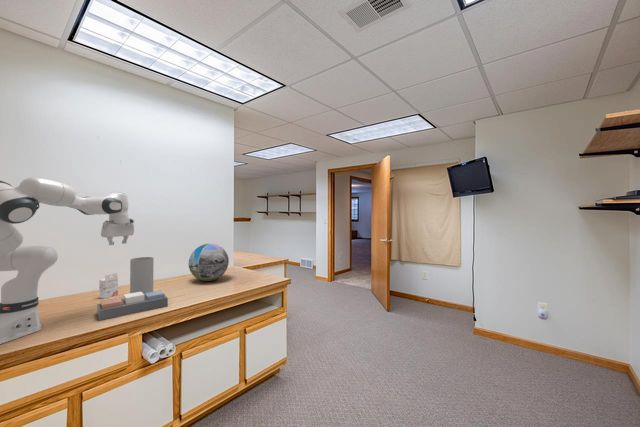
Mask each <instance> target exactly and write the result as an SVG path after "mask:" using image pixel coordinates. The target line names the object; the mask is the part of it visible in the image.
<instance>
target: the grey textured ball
mask: <svg viewBox="0 0 640 427" xmlns="http://www.w3.org/2000/svg"><path fill="white" fill-rule="evenodd" d="M229 260H230V259H229V255H228V252H227V251H226V250H225V249H224V248H223V247H222V246H220V245H218V244H215V243H205V244H202V245H200V246H198V247H196V248H195V249H194V250H193V251H192V252H191V254H190V256H189V259H188V268H189V271H190V273H191V275H192V276H193V277H194V278H196V279H197V280H200V281H202V282H203V281H204V282H211V281H216V280H217V279H219V278H221V277H222V276H223V275H224V274H225V273H226V271H227V270H228V266H229V262H230V261H229Z"/></svg>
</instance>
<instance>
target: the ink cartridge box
mask: <svg viewBox="0 0 640 427" xmlns="http://www.w3.org/2000/svg"><path fill="white" fill-rule="evenodd" d="M118 280H119V279H118V272H115V273H111V274H106V275H105V276H104V278H102V279H99V287H98V288H99V291H98V292H99V299H105V300H107V299H109V298H112V297H115V296H118V294H119V291H118V289H119V288H118V287H119V285H118V284H119V282H118Z"/></svg>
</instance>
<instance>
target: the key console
mask: <svg viewBox="0 0 640 427" xmlns="http://www.w3.org/2000/svg"><path fill="white" fill-rule="evenodd" d="M168 298H169V297H167V295H165V294H164V297H163V298H158V299H153V300H148V301H147V300H146V299H145V296H144V301H142V302H137V303H132V304H127V305H125V303H124V299H121V300H122V305H121V306H116V307H111V308H106V309H101V307H100V305H101V303H97V306H96V307H97V310H96V311H97V312H96V313H97V317H98V320H99V321H103V320H109V319H113V318H117V317H118V318H119V317H123V316H127V315H132V314H136V313H137V314H138V313H141V312H147V311H150V310H155V309H161V308H165V307H168V303H169V302H168V301H169V299H168Z"/></svg>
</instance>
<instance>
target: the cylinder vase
mask: <svg viewBox="0 0 640 427" xmlns="http://www.w3.org/2000/svg"><path fill="white" fill-rule="evenodd" d="M129 263H130V264H129V265H130V266H129V268H130V269H129V270H130V272H129V273H130V274H129V277H130V278H129V293H135V292H142V293H143V294H144V296H145V293H149V292H154V257H152V256H144V257H143V256H141V257H134V258H131V259H130V262H129Z"/></svg>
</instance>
